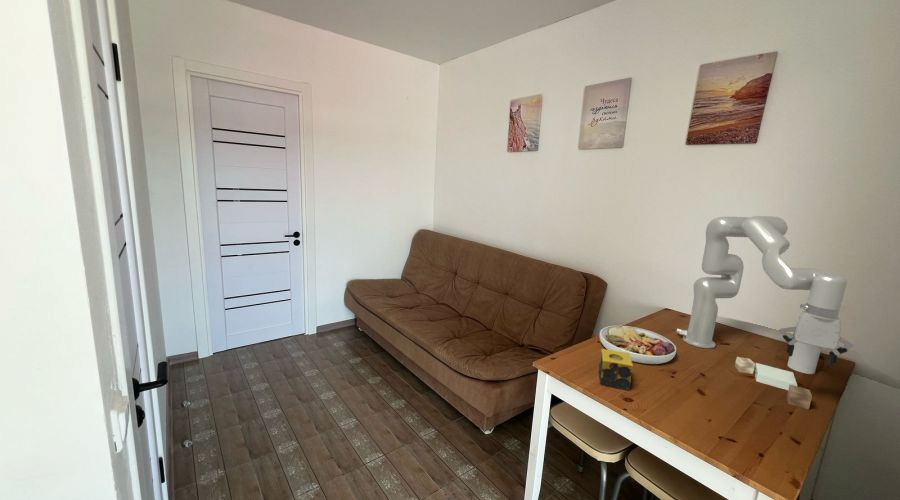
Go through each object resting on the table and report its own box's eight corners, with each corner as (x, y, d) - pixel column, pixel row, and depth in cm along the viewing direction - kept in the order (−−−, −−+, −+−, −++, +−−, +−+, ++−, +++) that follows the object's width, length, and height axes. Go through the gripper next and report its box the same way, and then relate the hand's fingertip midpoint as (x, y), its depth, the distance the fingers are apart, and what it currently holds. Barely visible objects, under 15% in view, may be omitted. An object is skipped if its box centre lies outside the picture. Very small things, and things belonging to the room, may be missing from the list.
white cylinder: (820, 375, 143) (827, 347, 140) (796, 372, 144) (803, 344, 142) (804, 364, 151) (811, 338, 148) (782, 362, 152) (789, 336, 150)
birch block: (739, 372, 143) (741, 361, 142) (734, 366, 147) (736, 356, 146) (752, 374, 142) (755, 364, 141) (747, 368, 146) (749, 358, 145)
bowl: (589, 350, 157) (591, 333, 155) (609, 329, 179) (611, 314, 178) (667, 376, 138) (670, 357, 137) (679, 349, 161) (682, 333, 159)
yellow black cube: (626, 377, 136) (630, 352, 134) (630, 391, 127) (634, 366, 125) (597, 371, 139) (601, 347, 137) (599, 385, 130) (602, 360, 128)
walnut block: (788, 403, 123) (791, 390, 122) (786, 397, 127) (789, 384, 126) (808, 409, 120) (812, 396, 119) (805, 402, 124) (809, 389, 123)
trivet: (756, 381, 136) (757, 374, 136) (754, 369, 145) (755, 362, 144) (795, 392, 130) (797, 384, 129) (791, 379, 139) (792, 372, 138)
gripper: (787, 308, 119) (776, 355, 122) (864, 321, 109) (849, 373, 112) (784, 302, 125) (773, 347, 128) (857, 315, 115) (843, 363, 118)
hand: (809, 359), depth 120 cm, fingers open, 9 cm apart
